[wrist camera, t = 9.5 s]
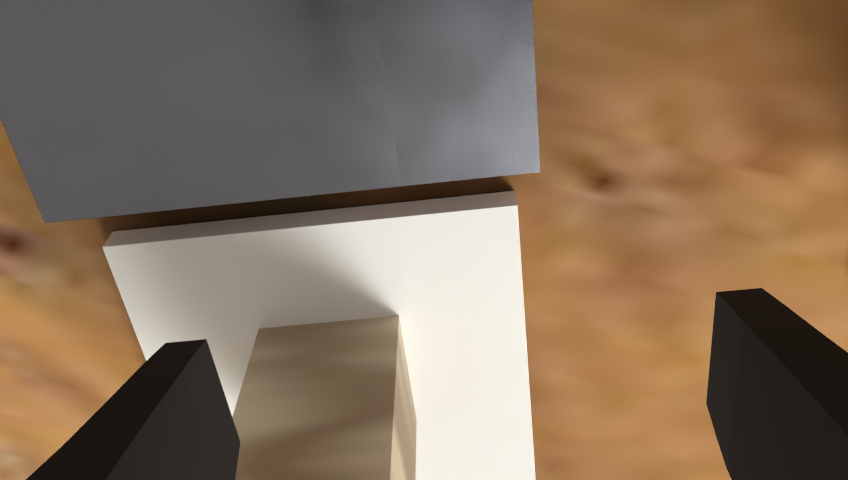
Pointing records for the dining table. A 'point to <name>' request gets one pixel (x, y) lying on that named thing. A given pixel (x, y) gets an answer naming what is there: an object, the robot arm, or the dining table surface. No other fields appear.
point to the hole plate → (261, 98)
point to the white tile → (360, 307)
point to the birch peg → (327, 404)
